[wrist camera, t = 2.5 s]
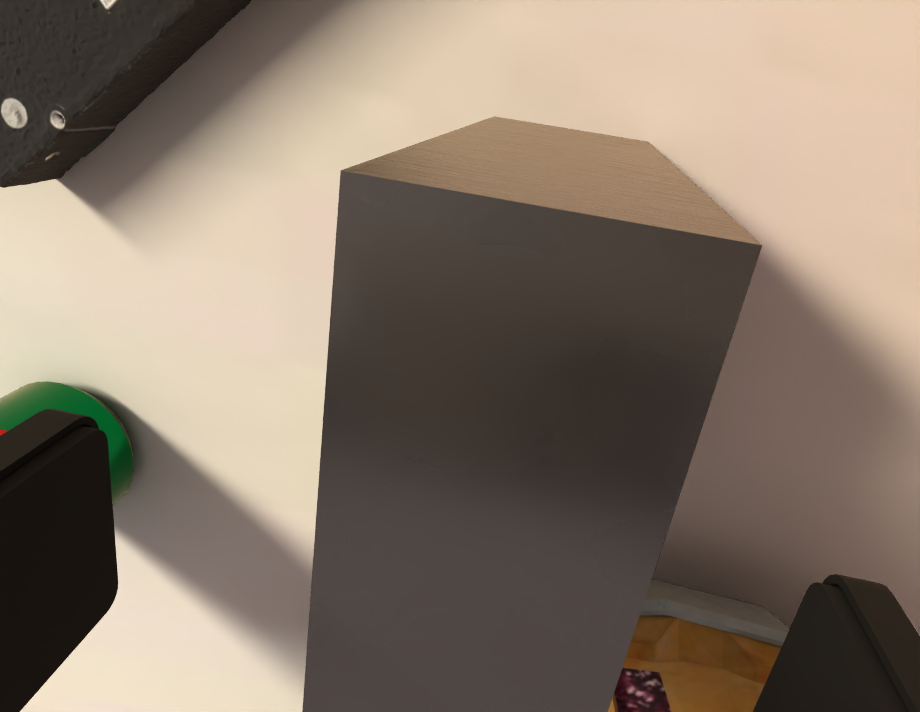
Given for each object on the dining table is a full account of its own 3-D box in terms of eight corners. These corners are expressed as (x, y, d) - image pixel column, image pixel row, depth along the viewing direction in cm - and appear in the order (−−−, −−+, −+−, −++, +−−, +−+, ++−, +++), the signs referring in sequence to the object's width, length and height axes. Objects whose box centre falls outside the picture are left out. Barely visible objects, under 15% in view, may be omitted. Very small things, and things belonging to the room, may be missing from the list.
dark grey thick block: (648, 141, 17) (761, 245, 6) (567, 470, 21) (547, 893, 10) (494, 116, 17) (340, 170, 6) (443, 443, 21) (294, 821, 10)
